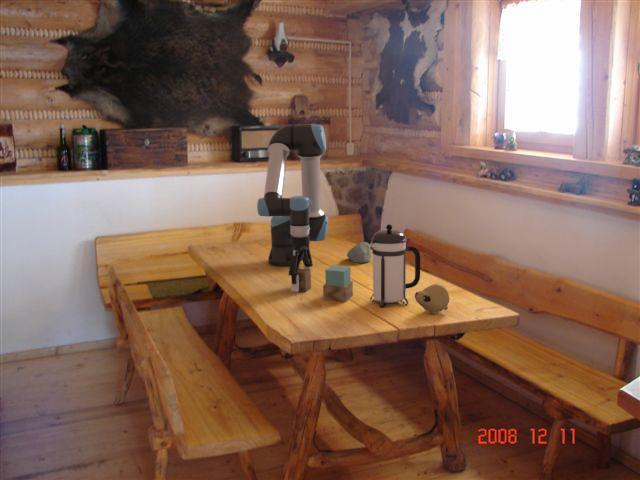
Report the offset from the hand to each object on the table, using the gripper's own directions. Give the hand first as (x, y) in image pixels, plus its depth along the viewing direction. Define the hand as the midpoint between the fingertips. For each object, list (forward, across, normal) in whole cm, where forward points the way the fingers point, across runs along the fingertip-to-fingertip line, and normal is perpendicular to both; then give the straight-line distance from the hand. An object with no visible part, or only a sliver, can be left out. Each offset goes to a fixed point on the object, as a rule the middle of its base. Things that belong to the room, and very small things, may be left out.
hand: (301, 286), depth 279 cm
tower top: (-5, -7, -18) cm, 20 cm away
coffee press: (+2, -6, -39) cm, 39 cm away
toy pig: (+2, -15, -56) cm, 58 cm away
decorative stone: (+2, +53, -9) cm, 54 cm away
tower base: (+1, -7, -18) cm, 19 cm away
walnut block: (+1, 0, 0) cm, 1 cm away
